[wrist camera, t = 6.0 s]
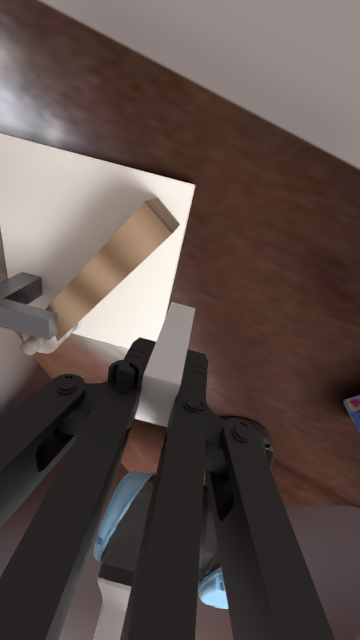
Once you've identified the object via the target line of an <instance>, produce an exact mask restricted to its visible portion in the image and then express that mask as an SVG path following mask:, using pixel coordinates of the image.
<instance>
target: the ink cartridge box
mask: <svg viewBox="0 0 360 640" xmlns="http://www.w3.org/2000/svg"><path fill="white" fill-rule="evenodd" d="M343 402H344V405H345V407H346V409H347V411H348V413H349V415H350V417H351V419H352V420H353V422H354V424H355V426H356V428H357V429H358V431H359V433H360V395H358V396H355V397H351V398H348V399H345V400H344V401H343Z"/></svg>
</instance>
